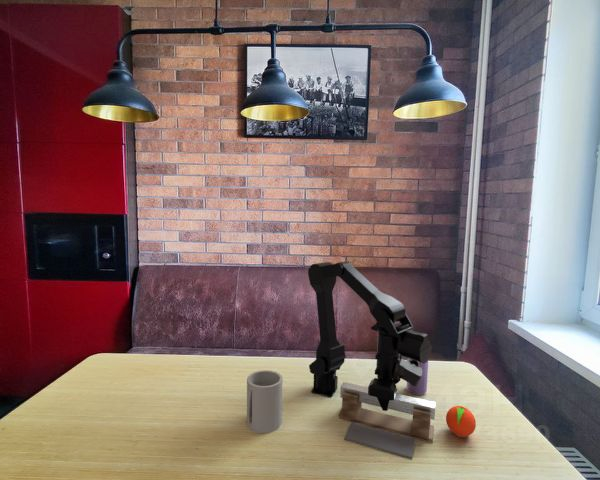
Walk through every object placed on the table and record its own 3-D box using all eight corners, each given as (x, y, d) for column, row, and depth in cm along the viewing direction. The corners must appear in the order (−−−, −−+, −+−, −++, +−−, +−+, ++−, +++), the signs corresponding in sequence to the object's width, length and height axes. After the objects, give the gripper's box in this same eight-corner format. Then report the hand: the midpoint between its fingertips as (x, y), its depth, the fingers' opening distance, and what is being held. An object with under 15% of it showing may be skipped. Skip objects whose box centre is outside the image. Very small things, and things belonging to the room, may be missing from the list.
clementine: (472, 449, 85) (474, 421, 84) (441, 438, 88) (443, 411, 88) (476, 431, 92) (478, 405, 91) (447, 422, 95) (449, 397, 95)
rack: (337, 417, 96) (338, 393, 95) (344, 406, 102) (345, 382, 101) (432, 442, 87) (434, 415, 86) (434, 428, 92) (435, 402, 92)
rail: (340, 397, 97) (340, 386, 97) (343, 392, 100) (343, 381, 100) (434, 419, 88) (435, 408, 87) (434, 413, 90) (435, 402, 90)
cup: (286, 416, 96) (287, 373, 95) (273, 436, 88) (274, 390, 87) (256, 409, 99) (256, 367, 98) (240, 428, 91) (240, 383, 90)
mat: (344, 439, 87) (344, 438, 87) (351, 423, 94) (351, 422, 94) (412, 459, 81) (412, 457, 81) (415, 440, 88) (415, 439, 87)
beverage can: (427, 397, 108) (430, 349, 106) (407, 394, 109) (409, 347, 107) (424, 387, 114) (427, 341, 112) (405, 384, 115) (407, 339, 113)
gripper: (417, 371, 81) (414, 436, 82) (424, 342, 98) (420, 397, 99) (368, 362, 85) (366, 424, 86) (382, 336, 102) (380, 388, 104)
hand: (385, 407), depth 94 cm, fingers closed on rail, 3 cm apart
